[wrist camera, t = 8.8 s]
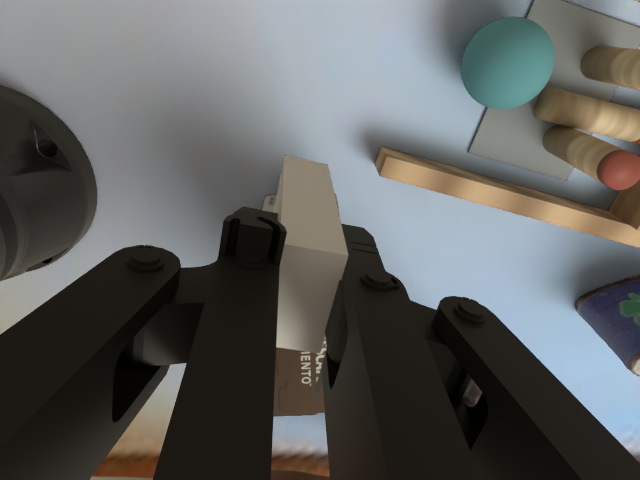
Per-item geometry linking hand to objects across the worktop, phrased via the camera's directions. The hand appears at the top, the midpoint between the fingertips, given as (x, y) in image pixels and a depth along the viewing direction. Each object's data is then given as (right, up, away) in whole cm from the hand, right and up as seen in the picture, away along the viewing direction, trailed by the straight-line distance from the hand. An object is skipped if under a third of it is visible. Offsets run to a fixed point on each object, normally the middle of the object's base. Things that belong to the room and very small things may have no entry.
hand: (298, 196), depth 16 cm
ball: (+14, +11, +16) cm, 24 cm away
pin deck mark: (+19, +10, +20) cm, 29 cm away
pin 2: (+20, +7, +21) cm, 30 cm away
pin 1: (+22, +12, +19) cm, 31 cm away
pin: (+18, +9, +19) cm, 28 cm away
